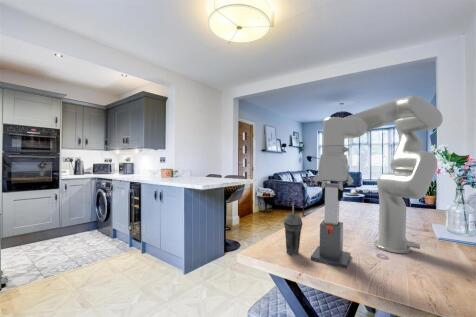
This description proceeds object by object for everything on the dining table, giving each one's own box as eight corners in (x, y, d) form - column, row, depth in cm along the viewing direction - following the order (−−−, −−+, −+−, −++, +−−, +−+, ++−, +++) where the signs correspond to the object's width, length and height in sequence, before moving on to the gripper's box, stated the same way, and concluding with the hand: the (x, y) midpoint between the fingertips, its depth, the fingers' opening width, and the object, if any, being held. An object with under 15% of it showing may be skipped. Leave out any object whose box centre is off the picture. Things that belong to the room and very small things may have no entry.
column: (338, 238, 88) (339, 183, 87) (336, 241, 84) (338, 185, 83) (326, 235, 90) (327, 183, 90) (323, 239, 86) (325, 184, 86)
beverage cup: (302, 250, 93) (303, 200, 93) (301, 257, 87) (302, 204, 86) (284, 247, 96) (285, 199, 96) (281, 254, 89) (282, 202, 89)
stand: (350, 255, 89) (351, 222, 89) (346, 268, 79) (347, 230, 78) (318, 248, 95) (318, 217, 95) (310, 259, 85) (311, 224, 85)
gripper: (359, 151, 85) (358, 200, 85) (312, 151, 94) (311, 195, 94) (357, 150, 79) (356, 204, 79) (307, 150, 88) (306, 198, 88)
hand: (332, 199), depth 87 cm, fingers closed on column, 4 cm apart
